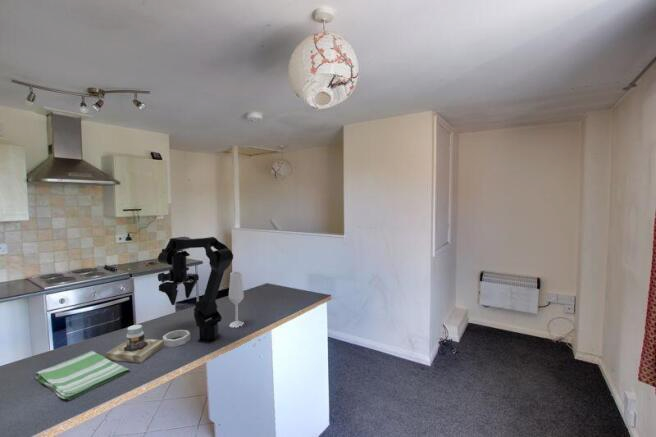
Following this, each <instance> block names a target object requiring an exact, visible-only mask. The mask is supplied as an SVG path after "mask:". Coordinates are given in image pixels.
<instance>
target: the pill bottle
mask: <svg viewBox="0 0 656 437" xmlns="http://www.w3.org/2000/svg"><path fill="white" fill-rule="evenodd" d="M144 339H145V332H144V331H143V325H142V324H133V325H130V326H128V327H127V333H126V336H125V341H126V347H127V351H129V352H133V351H137V350H141V349H143V348H145V347H144Z"/></svg>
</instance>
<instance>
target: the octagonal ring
mask: <svg viewBox="0 0 656 437" xmlns="http://www.w3.org/2000/svg"><path fill="white" fill-rule="evenodd" d="M178 337H179V338H178ZM162 340H164V347H169V348H176V347H178V346H182V345H186V344H187V343H188V342H190V341H191V332H190V331H189V330H188V329H176V330H173V331H172V330H171V331H169V332H167V333H166V334H164V335H162Z"/></svg>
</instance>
